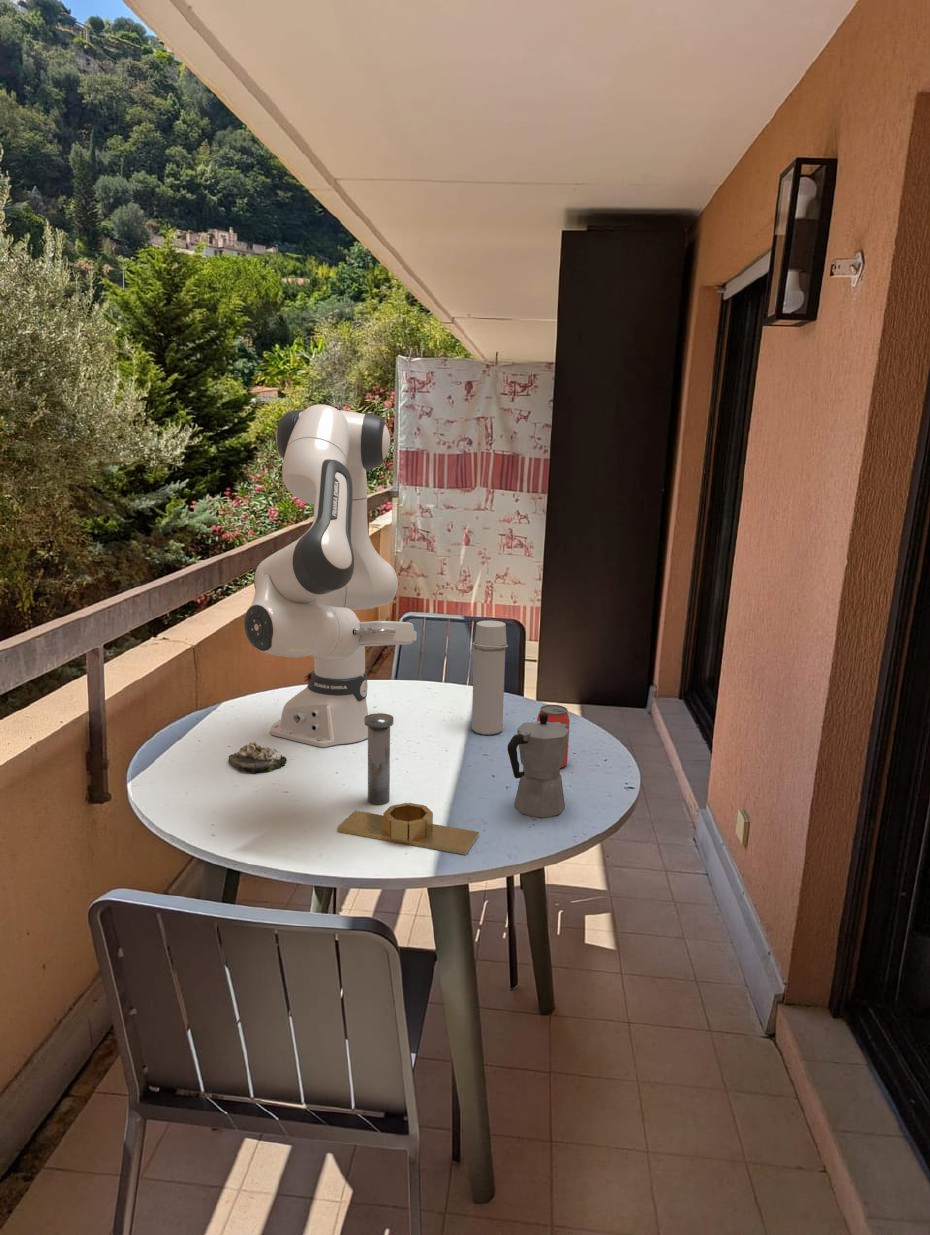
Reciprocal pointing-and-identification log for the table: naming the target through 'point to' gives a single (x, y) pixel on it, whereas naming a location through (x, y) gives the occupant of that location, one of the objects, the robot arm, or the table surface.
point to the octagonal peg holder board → (409, 828)
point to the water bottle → (488, 677)
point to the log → (257, 759)
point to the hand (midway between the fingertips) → (395, 637)
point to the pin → (378, 757)
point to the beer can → (557, 720)
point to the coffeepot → (539, 766)
